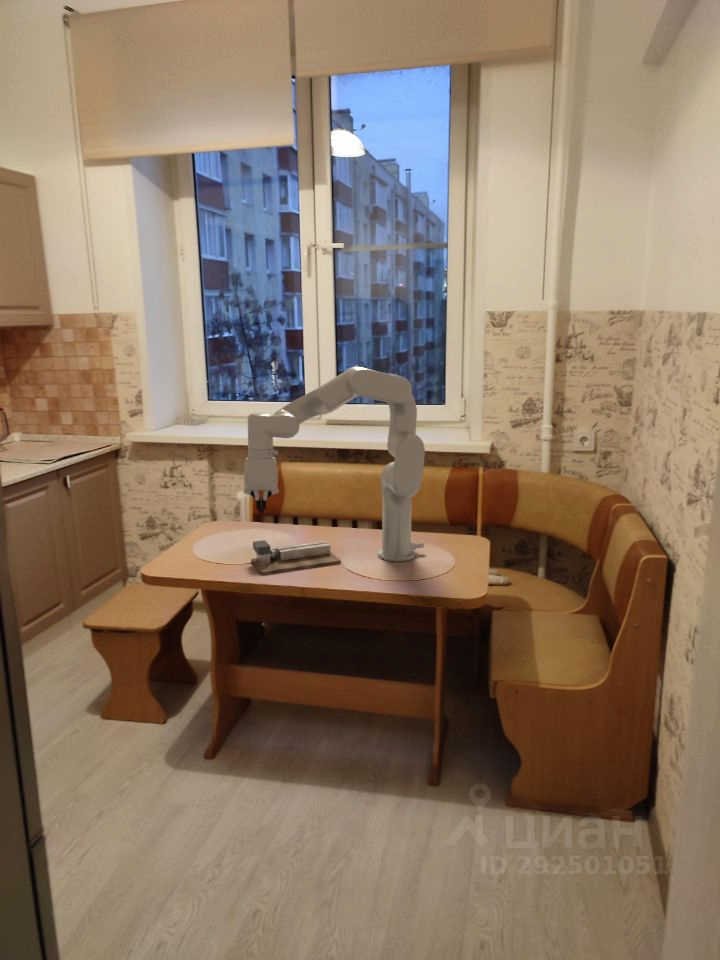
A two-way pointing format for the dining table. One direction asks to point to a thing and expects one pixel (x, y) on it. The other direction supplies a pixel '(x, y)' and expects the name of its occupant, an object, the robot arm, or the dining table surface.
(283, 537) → the dining table surface
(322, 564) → the cutting board
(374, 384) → the robot arm
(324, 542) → the tongs frame
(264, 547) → the lock slider
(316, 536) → the dining table surface
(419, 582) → the dining table surface
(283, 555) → the grey rectangular bar
